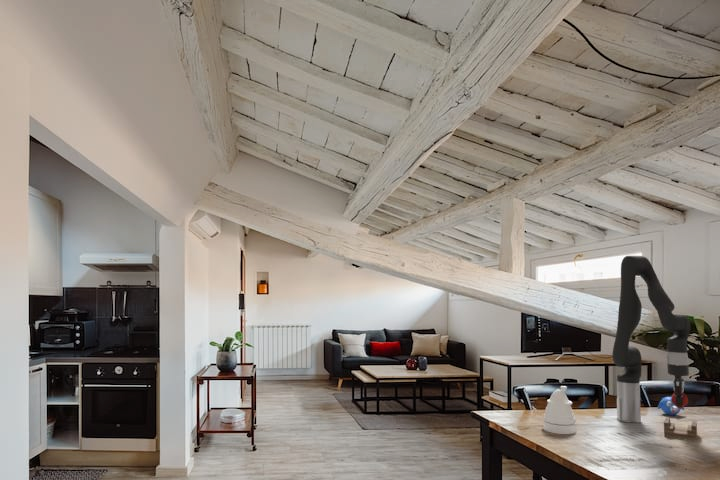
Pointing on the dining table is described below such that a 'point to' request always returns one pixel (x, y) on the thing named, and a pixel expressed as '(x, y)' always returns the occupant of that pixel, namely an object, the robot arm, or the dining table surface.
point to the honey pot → (559, 414)
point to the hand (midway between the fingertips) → (679, 404)
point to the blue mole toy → (668, 406)
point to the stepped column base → (680, 431)
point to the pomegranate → (684, 400)
